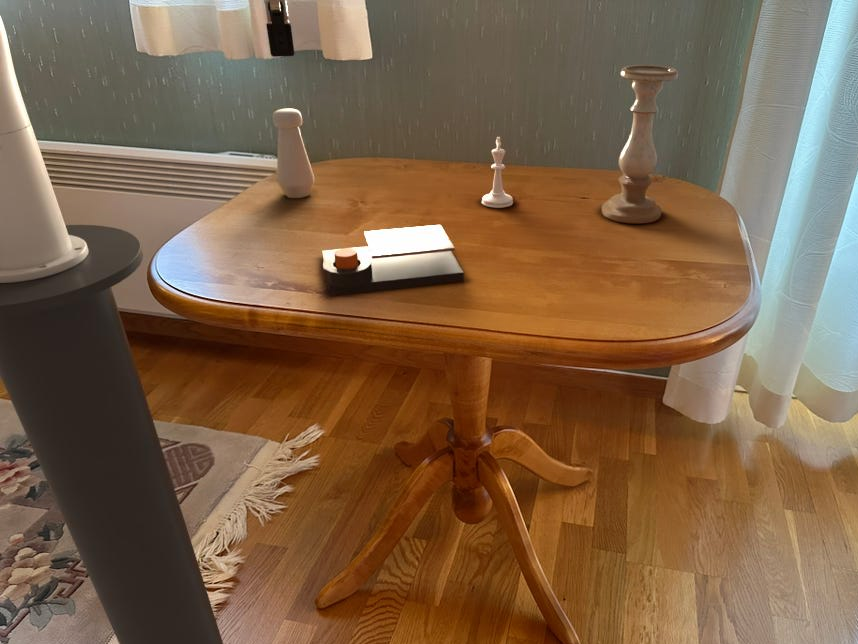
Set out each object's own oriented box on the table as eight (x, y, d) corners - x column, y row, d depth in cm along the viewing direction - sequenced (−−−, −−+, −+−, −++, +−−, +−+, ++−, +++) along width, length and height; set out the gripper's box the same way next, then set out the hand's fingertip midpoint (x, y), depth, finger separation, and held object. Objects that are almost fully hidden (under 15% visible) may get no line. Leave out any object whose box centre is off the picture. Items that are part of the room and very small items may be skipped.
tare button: (336, 272, 77) (335, 257, 76) (335, 263, 79) (333, 249, 78) (359, 269, 78) (358, 255, 77) (357, 260, 80) (355, 247, 79)
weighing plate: (372, 259, 79) (371, 255, 79) (364, 234, 86) (363, 231, 86) (454, 250, 82) (454, 247, 82) (440, 227, 88) (440, 224, 88)
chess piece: (508, 196, 108) (510, 132, 103) (516, 206, 104) (518, 140, 99) (478, 198, 107) (478, 134, 102) (485, 208, 103) (486, 142, 98)
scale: (327, 299, 77) (324, 275, 76) (320, 259, 87) (317, 237, 85) (465, 284, 81) (465, 260, 79) (444, 247, 90) (443, 225, 89)
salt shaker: (272, 197, 107) (258, 112, 100) (290, 187, 112) (278, 104, 105) (305, 201, 106) (294, 115, 99) (322, 190, 111) (312, 107, 104)
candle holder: (642, 229, 96) (663, 77, 86) (590, 215, 101) (604, 69, 90) (671, 213, 102) (694, 68, 91) (620, 200, 107) (637, 61, 96)
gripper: (233, -102, 90) (257, 49, 99) (224, -108, 77) (252, 64, 87) (291, -101, 91) (309, 47, 101) (292, -107, 79) (312, 62, 89)
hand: (282, 55), depth 94 cm, fingers closed
